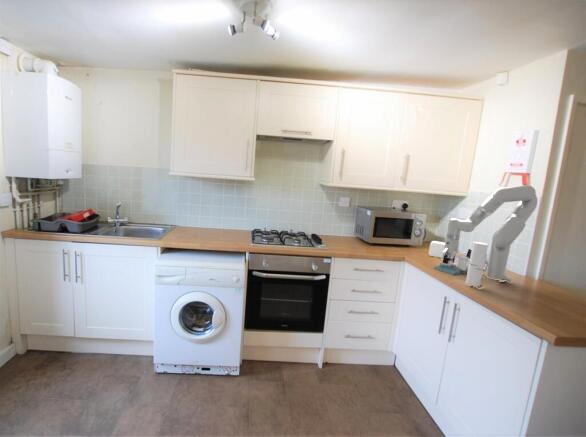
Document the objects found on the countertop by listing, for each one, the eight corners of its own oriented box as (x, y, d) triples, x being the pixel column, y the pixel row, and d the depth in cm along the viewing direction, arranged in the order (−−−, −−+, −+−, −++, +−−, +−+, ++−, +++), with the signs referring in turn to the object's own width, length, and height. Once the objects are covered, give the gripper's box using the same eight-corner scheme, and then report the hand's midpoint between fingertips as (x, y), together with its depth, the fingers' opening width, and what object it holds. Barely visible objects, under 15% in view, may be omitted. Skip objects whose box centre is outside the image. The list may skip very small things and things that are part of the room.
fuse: (465, 272, 194) (468, 257, 193) (462, 273, 192) (465, 257, 190) (459, 270, 197) (462, 255, 196) (456, 271, 195) (459, 256, 194)
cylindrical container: (466, 282, 177) (474, 241, 173) (480, 285, 173) (488, 243, 169) (464, 285, 172) (472, 242, 168) (478, 288, 167) (487, 245, 163)
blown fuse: (452, 268, 202) (454, 253, 200) (448, 268, 199) (451, 254, 198) (446, 266, 205) (448, 252, 203) (443, 266, 202) (445, 252, 201)
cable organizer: (426, 256, 233) (429, 241, 231) (429, 254, 241) (431, 239, 240) (448, 260, 225) (450, 245, 223) (450, 258, 233) (452, 243, 231)
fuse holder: (469, 274, 194) (470, 269, 194) (463, 275, 190) (464, 271, 189) (445, 266, 207) (445, 262, 207) (438, 267, 203) (439, 263, 202)
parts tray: (459, 274, 191) (460, 270, 191) (452, 276, 186) (453, 271, 186) (441, 268, 201) (442, 264, 200) (434, 270, 196) (434, 265, 195)
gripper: (451, 239, 191) (446, 265, 194) (465, 237, 201) (460, 263, 203) (440, 236, 197) (435, 262, 200) (454, 235, 207) (449, 260, 210)
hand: (448, 262), depth 202 cm, fingers open, 7 cm apart
